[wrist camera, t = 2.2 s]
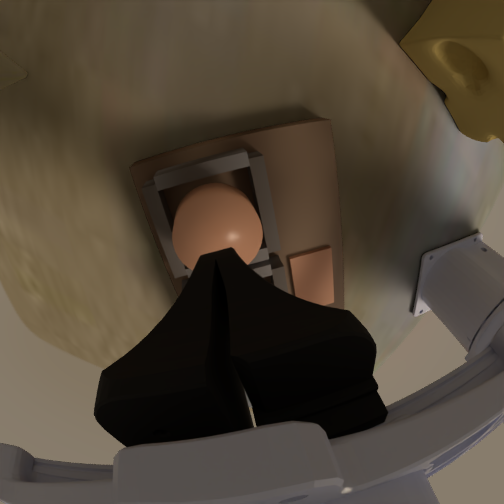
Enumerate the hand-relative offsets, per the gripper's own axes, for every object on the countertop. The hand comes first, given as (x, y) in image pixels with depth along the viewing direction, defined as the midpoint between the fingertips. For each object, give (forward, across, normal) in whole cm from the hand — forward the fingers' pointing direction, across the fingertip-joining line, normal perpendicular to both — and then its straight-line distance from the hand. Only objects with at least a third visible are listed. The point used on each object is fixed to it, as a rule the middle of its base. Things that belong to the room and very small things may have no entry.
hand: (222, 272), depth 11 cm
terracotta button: (+5, 0, 0) cm, 5 cm away
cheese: (+9, -22, -9) cm, 25 cm away
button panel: (+8, -2, +7) cm, 11 cm away
